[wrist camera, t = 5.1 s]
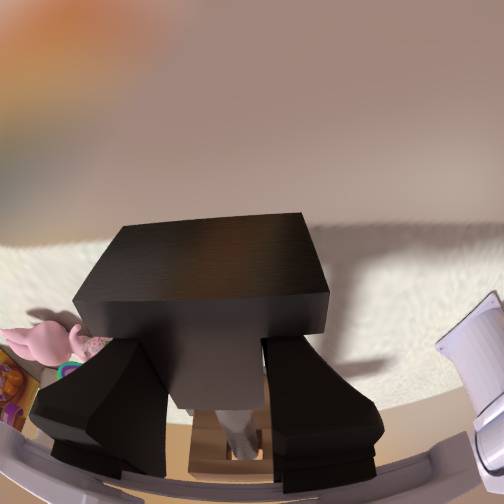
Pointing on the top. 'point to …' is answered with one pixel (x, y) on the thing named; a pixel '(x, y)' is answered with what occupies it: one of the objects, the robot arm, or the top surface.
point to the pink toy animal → (53, 345)
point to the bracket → (229, 448)
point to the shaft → (209, 306)
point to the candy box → (15, 392)
